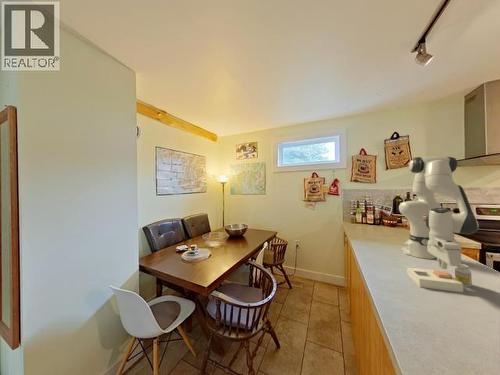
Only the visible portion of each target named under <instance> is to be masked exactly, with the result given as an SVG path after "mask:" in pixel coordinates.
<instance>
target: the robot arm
mask: <svg viewBox="0 0 500 375" xmlns="http://www.w3.org/2000/svg"><path fill="white" fill-rule="evenodd" d="M408 164H409V165H408V169H409V171H410V172H412V173H414V178H413V184H412V193H413V194H414V195H416V196H417V200H408V201H402V202H400V204H399V206H398V210H399V212H400V214H401V215H402V216H404V217H405V218H406V219H407V221H408V224H409V232H410V234H409V236H408V240H407V241H405V242H404V243H403V246H402V248H401V249H402V251H403V253H404V254H405V255H408V256H411V257H412V256H413V257H415V258H418V259H419V258H421V259H427V260H429V259H430V260H433V259H436V260H437V264H438V267H439V268H441V270H442V269H443V270H448V268H447V267H448V265H449V266H451V267H457V266H460V265H461V264H462V253H461V250H462V245H461V244H460V243H459V242H458V241H457V240H456V238H455V235H454V233H456V234H461V235H467V236H468V235H469V236H470V235H472V234H473V235H474V234H475V233H476V232H478V231H479V228H480V227H479V226H480V225H479V222H478V220H477V217H475V215H474V212H473V210H472V208H471V205H470V202H469V198H468V197H467V194H466V192H465V189H464V188H463V187H462V186H461V185H459V184H457V183H456V182H455V181H454V179H453V172H455V171H456V170H457V168H458V160H457V158H456V157H453V156H440V155H439V156H423V157H421V156H417V157H413V158H411V160H410V162H409V163H408ZM435 193H436V194H439V195H442V196H447V197H450V198H452V199H454V200H455V201H456V204H457V207H458V209H459V213H458V214H457V213H452V210H450V209H448V208H443V207H442V205H441V203H440V202H438V200H436V197H435ZM424 217H425V219H424Z"/></svg>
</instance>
